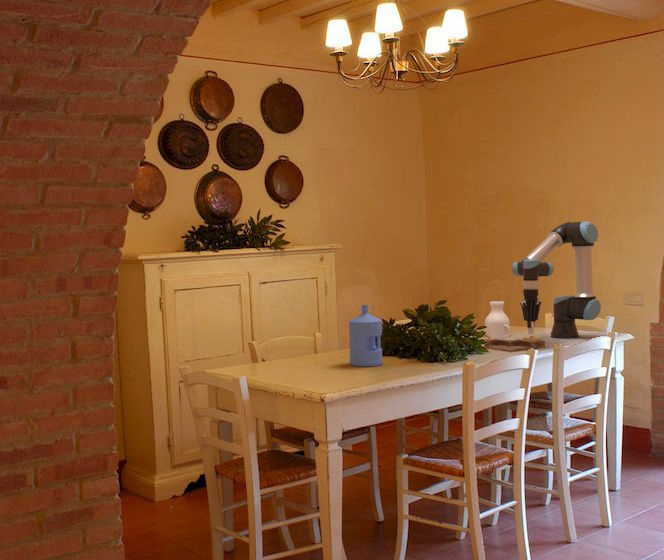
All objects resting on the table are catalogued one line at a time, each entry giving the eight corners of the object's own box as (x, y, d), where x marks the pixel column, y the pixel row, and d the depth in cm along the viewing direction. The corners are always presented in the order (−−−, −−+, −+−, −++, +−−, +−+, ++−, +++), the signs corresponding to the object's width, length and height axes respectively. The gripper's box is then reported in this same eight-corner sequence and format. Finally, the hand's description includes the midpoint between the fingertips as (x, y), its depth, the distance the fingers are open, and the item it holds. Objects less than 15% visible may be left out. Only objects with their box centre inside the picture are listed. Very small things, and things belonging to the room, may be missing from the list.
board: (509, 342, 463) (509, 336, 462) (545, 347, 439) (545, 340, 439) (475, 346, 451) (475, 339, 451) (510, 352, 427) (510, 345, 427)
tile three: (531, 341, 445) (531, 335, 445) (539, 342, 440) (539, 336, 440) (523, 342, 442) (523, 336, 442) (531, 343, 437) (531, 337, 437)
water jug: (345, 366, 396) (343, 306, 395) (355, 361, 411) (354, 303, 409) (377, 367, 391) (375, 307, 389) (386, 362, 406) (385, 303, 404)
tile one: (510, 342, 449) (510, 337, 449) (518, 343, 444) (518, 338, 444) (501, 343, 446) (501, 338, 446) (509, 344, 441) (509, 339, 441)
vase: (512, 337, 484) (511, 302, 482) (487, 338, 484) (486, 303, 483) (507, 334, 498) (506, 300, 497) (483, 335, 498) (482, 301, 497)
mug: (515, 340, 471) (514, 321, 471) (506, 341, 466) (506, 323, 465) (497, 338, 480) (496, 320, 479) (488, 340, 474) (488, 322, 474)
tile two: (489, 342, 453) (489, 337, 453) (497, 343, 448) (496, 338, 448) (480, 343, 450) (480, 338, 450) (488, 344, 445) (488, 339, 445)
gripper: (535, 287, 446) (535, 332, 447) (516, 288, 439) (516, 334, 440) (545, 288, 439) (545, 333, 440) (526, 289, 433) (526, 335, 434)
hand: (531, 334), depth 440 cm, fingers closed
